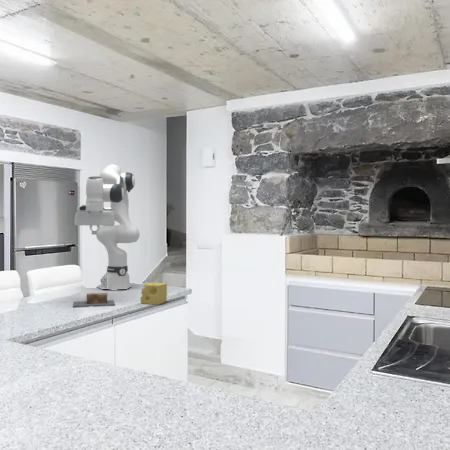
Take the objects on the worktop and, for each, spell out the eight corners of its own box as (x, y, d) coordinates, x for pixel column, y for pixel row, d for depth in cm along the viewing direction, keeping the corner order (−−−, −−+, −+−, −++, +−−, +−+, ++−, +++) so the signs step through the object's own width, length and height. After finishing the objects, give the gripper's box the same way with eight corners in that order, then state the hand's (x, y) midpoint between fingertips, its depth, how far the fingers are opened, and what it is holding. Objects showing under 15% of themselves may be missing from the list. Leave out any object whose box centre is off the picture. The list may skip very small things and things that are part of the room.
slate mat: (72, 307, 224) (72, 306, 224) (73, 302, 236) (73, 301, 236) (114, 305, 230) (114, 304, 230) (113, 301, 242) (113, 300, 242)
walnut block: (86, 295, 230) (107, 294, 233) (86, 293, 234) (106, 292, 237) (86, 304, 230) (107, 303, 233) (86, 302, 234) (106, 301, 237)
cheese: (140, 303, 236) (140, 284, 236) (149, 300, 247) (150, 281, 246) (159, 305, 233) (159, 285, 233) (167, 301, 244) (167, 282, 243)
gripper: (115, 208, 244) (114, 234, 244) (74, 207, 238) (74, 234, 238) (115, 208, 238) (115, 234, 238) (74, 207, 232) (73, 234, 232)
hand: (94, 234), depth 238 cm, fingers closed
